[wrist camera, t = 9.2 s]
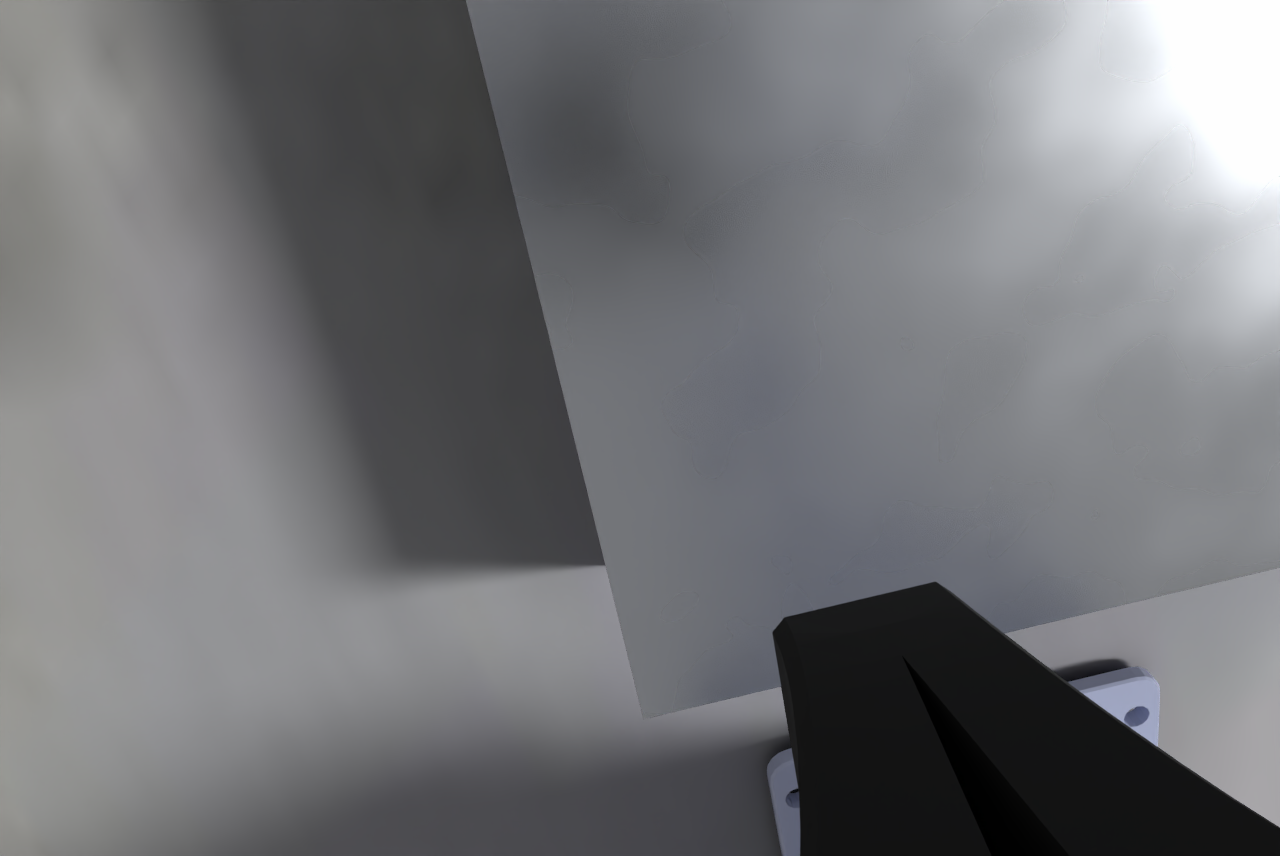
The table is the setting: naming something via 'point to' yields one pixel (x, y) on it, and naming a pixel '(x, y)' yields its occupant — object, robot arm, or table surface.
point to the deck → (900, 302)
